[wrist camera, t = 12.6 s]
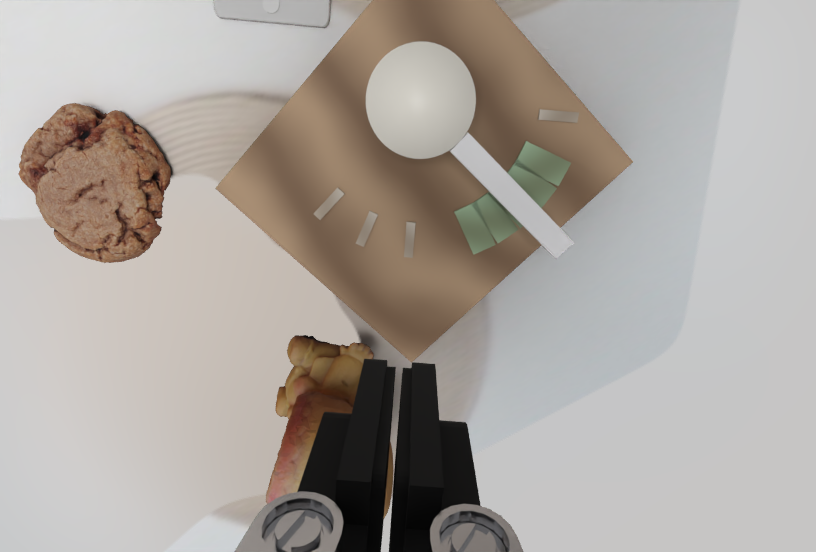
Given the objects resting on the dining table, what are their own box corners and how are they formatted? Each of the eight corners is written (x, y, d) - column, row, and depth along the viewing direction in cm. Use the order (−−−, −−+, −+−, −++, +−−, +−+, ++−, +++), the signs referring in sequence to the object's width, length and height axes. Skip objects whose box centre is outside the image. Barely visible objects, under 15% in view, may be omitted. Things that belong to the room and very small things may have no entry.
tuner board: (431, -58, 28) (432, -73, 26) (620, 159, 31) (634, 162, 29) (227, 184, 32) (214, 188, 30) (411, 350, 36) (411, 363, 34)
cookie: (77, 269, 35) (47, 282, 32) (11, 124, 32) (-29, 124, 29) (202, 241, 34) (182, 252, 31) (146, 89, 31) (118, 86, 28)
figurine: (288, 311, 35) (280, 446, 22) (383, 324, 37) (431, 455, 24) (267, 420, 38) (249, 599, 25) (356, 426, 40) (385, 595, 27)
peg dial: (350, 106, 28) (343, 103, 25) (419, 26, 27) (419, 14, 24) (517, 270, 31) (527, 285, 28) (587, 206, 30) (605, 214, 27)
